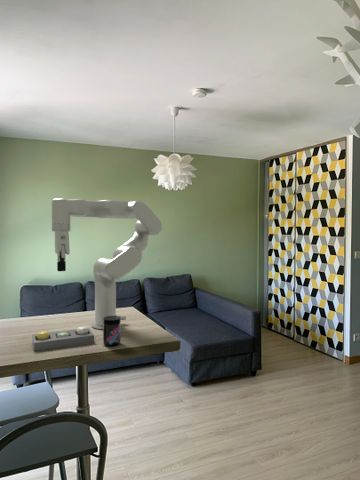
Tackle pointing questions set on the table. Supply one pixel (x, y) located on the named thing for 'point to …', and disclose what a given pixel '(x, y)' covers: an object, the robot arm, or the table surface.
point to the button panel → (62, 340)
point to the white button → (82, 330)
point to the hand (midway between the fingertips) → (61, 270)
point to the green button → (62, 334)
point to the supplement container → (111, 330)
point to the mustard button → (42, 335)
